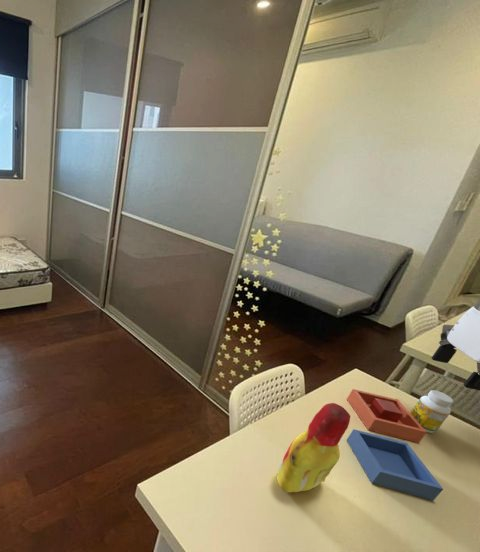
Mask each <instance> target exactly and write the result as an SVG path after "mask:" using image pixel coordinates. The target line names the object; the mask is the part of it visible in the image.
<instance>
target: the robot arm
mask: <svg viewBox="0 0 480 552" xmlns="http://www.w3.org/2000/svg"><path fill="white" fill-rule="evenodd" d="M441 329H442V330H441V333H440V340H439V341H438V345H439V346H438V348H437V349H436V350H435V351H434V353H433V354H432V356H431V360H432V361H435V362H439V363H445V364H448V363H449V362H450V361H451V360H452V359H453V357H454V356H455V354H456V353H457V351H460V352H461V353H463V354H464V355H465V356H467V357H468V358H470V359H471V360H473V361H474V362H476V371H472V373H471V374H470V375H469V376H468V378H467V379H466V380H465V381H464V383H463V387H465V388H466V389H467V388H468V389H470V390H474V391H480V298H478V300H477V302H476V303H475V304H474V306H472V307H470V308H469V309H468V310H467V311H466V312H465V313H464V314H463V315H462V316H461V317H460V318H459V319H458V320H457V321H456V323H455V324H443V325H442V328H441Z"/></svg>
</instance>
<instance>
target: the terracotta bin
mask: <svg viewBox="0 0 480 552" xmlns="http://www.w3.org/2000/svg"><path fill="white" fill-rule="evenodd" d="M375 398H377V399H381V400H385V401H389V402H393V403H394V404H395V405H396V407H397V408H398V409H399V410H400V411H401V412H402V414H403V415H402V416H401V418H400V419H399V420H398V422H397V423H395V422H391V421H387V420H383V419H379V418H377V417H376V416H375V415H374V413H373V412H372V411H371V409H370V408H369V407H370V405H371V404H372V402H373V401H374V399H375ZM346 400H347V402H348V403H349V405H350V406H351V407H352V409H353V410H354V411H355V413H356V414H357V416H358V418H359V419H360V420H361V422H362V424H363V425H364V426H365V428H366V429H367V431H370V432H375V433H378V434H382V435H386V436H390V437H393V438H398V439H402V440H406V441H410V442H413V443H417V444H419V443H420V442H421V441H422V439H423V438H424V437H425V436H426V434H427V433H428V432H426V431H425V430H424V428H423V427H422V426H421V425H420V424H419V423H418V422H417V420H416V419H415V418H414V417H413V416H412V415H411V414H410V412H411V411H409V410H408V409H407V407H406V406H404V404H403V403H402V402H401V401H400V400H399V399H397V398H392V397H389V396H384V395H380V394H376V393H371V392H367V391H363V390H359V389H355V388H352V390H351V391H350V393H349V394H348V396H347V397H346Z"/></svg>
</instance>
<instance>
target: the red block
mask: <svg viewBox="0 0 480 552" xmlns="http://www.w3.org/2000/svg"><path fill="white" fill-rule="evenodd" d="M369 408H370V409H371V411H372V412H373V413H374V415H375V416H376V417H377V418H379V419H383V420H387V421H391V422H395V423H397V422H398V420H399V419H400V418H401V416H402V415H403V414H402V412H401V411H400V410H399V409H398V408H397V407H396V405H395V404H394V403H393V402H389V401H385V400H381V399H377V398H375V399H374V401H373V402H372V404H371V405H370V407H369Z"/></svg>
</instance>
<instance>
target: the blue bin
mask: <svg viewBox="0 0 480 552" xmlns="http://www.w3.org/2000/svg"><path fill="white" fill-rule="evenodd" d="M346 441H347V443H348V445H349V447H350V448H351V450H352V452H353V454H354V455H355V457H356V459H357V461H358V462H359V464H360V466H361V468H362V469H363V470H364V472H365V475H366V476H367V478H368V479H369V481H370V483H371V484H374V485H376V486H380V487H383V488H387V489H390V490H395V491H398V492H401V493H405V494H408V495H412V496H415V497H418V498H422V499H426V500H430V501H433V502H434V500H435V499H436V498H438V496H439V495H440V494H441V493H442V492H443V490H444V488H443V487H442V485H441V484H440V483H439V481H438V480H437V479H436V478H435V476H434V475H433V474H432V472H431V471H430V470H429V469H428V467H427V466H426V465H425V464H424V462H423V461H422V459H420V457H419V456H418V455H417V453H416V452H415V451H414V450H413V448H412V447H411V446H410V444H409V443H408V442H405V441H402V440H398V439H393V438H390V437H386V436H382V435H378V434H374V433H370V432H366V431H362V430H359V429H355V428H353V429H352V431H351V432H350V434H349V435H348V437H347V439H346Z"/></svg>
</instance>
